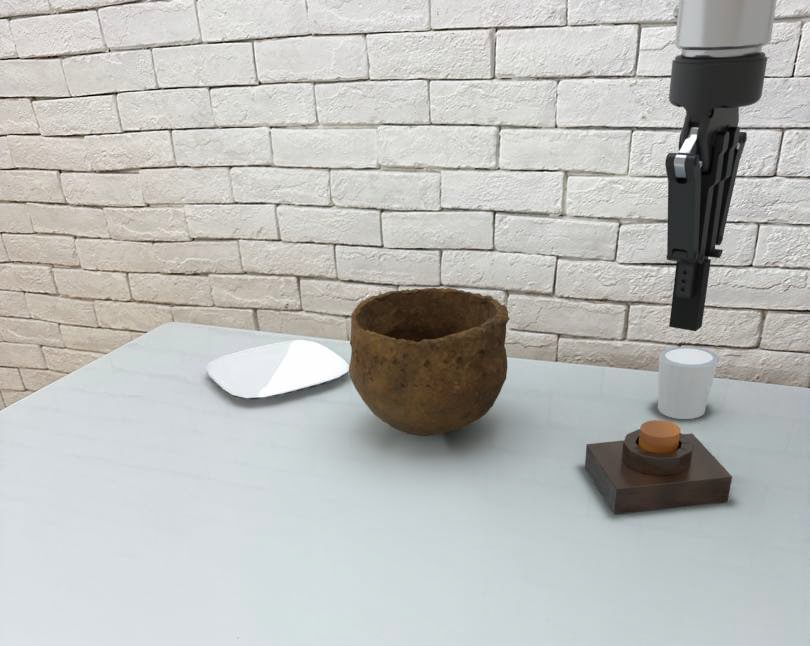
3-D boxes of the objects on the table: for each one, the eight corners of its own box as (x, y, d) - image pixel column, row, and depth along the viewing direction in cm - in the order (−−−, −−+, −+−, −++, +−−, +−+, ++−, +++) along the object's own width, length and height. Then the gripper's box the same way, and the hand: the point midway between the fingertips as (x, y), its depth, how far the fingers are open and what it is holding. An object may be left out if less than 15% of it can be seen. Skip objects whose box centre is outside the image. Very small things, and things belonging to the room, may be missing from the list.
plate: (241, 414, 111) (239, 402, 110) (196, 371, 124) (194, 360, 123) (363, 381, 118) (362, 370, 117) (309, 344, 132) (308, 333, 131)
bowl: (540, 434, 102) (545, 312, 94) (405, 479, 95) (398, 351, 86) (454, 384, 116) (451, 274, 108) (330, 420, 108) (317, 304, 100)
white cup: (722, 410, 105) (731, 356, 101) (684, 426, 102) (692, 371, 98) (678, 393, 110) (685, 341, 106) (641, 408, 107) (646, 354, 103)
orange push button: (669, 435, 90) (671, 418, 89) (684, 453, 87) (686, 435, 86) (632, 439, 90) (634, 422, 89) (646, 457, 87) (648, 438, 86)
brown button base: (688, 457, 96) (694, 416, 93) (727, 502, 87) (735, 458, 85) (584, 468, 95) (587, 427, 92) (613, 514, 86) (618, 471, 84)
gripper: (706, 44, 77) (675, 301, 90) (644, 59, 69) (620, 341, 82) (792, 43, 73) (747, 313, 86) (737, 59, 65) (696, 355, 78)
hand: (685, 326), depth 84 cm, fingers closed
